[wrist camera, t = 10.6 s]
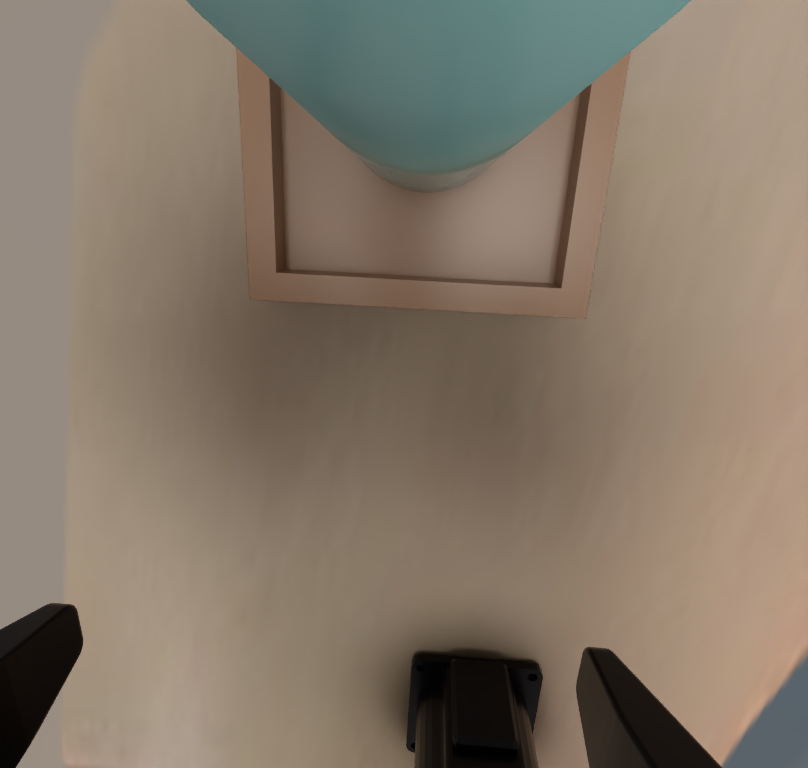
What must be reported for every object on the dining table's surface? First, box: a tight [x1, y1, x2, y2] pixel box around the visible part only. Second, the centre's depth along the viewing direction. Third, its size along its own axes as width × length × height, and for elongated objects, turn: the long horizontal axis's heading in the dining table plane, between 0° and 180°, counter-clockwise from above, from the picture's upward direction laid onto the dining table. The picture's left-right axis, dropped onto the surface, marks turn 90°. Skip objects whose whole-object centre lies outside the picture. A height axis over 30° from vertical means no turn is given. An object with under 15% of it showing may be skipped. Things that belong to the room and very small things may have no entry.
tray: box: [236, 48, 631, 319], centre depth 17 cm, size 14×12×2 cm
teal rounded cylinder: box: [187, 0, 690, 193], centre depth 10 cm, size 6×6×14 cm
